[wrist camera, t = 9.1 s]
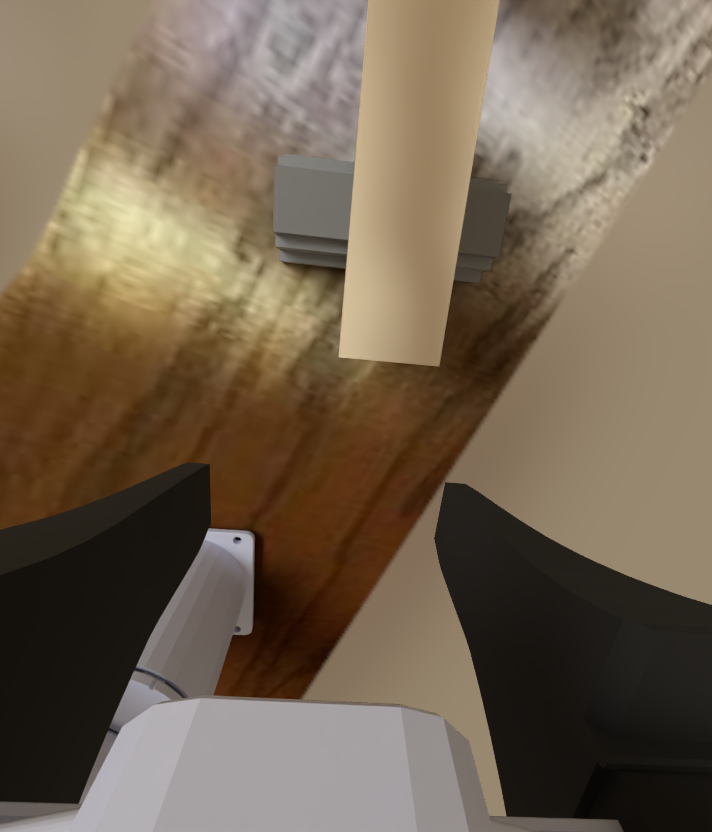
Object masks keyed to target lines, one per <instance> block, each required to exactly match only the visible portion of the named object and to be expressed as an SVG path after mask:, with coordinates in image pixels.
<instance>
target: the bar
mask: <svg viewBox="0 0 712 832" xmlns="http://www.w3.org/2000/svg"><path fill="white" fill-rule="evenodd" d="M499 2H500V0H369V2H368V13H367V25H366V36H365V47H364V59H363V70H362V82H361V94H360V106H359V118H358V130H357V142H356V154H355V166H354V178H353V189H352V201H351V213H350V225H349V237H348V249H347V261H346V273H345V285H344V297H343V308H342V320H341V332H340V346H339V357H342V358H353V359H364V360H375V361H386V362H396V363H407V364H418V365H429V366H439V365H440V359H441V353H442V347H443V341H444V335H445V328H446V322H447V316H448V310H449V304H450V298H451V292H452V286H453V280H454V274H455V268H456V262H457V256H458V250H459V244H460V238H461V232H462V226H463V220H464V213H465V207H466V201H467V195H468V189H469V183H470V177H471V171H472V165H473V159H474V153H475V147H476V141H477V135H478V129H479V123H480V117H481V111H482V104H483V98H484V92H485V86H486V80H487V74H488V68H489V62H490V56H491V50H492V44H493V38H494V32H495V26H496V20H497V14H498V8H499Z"/></svg>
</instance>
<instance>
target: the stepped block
mask: <svg viewBox="0 0 712 832" xmlns="http://www.w3.org/2000/svg"><path fill="white" fill-rule="evenodd" d="M354 166H355V162H347V161H339V160H331V159H324V158H316V157H308V156H300V155H292V154H284V153H283V157H278V165H275V181H274V215H273V232H274V233H275V234H276V242H275V246H276V247H277V248H278V249H280V252H279V261H281V262H285V263H294V264H303V265H313V266H322V267H331V268H341V269H346V261H347V249H348V237H349V225H350V213H351V201H352V189H353V178H354ZM506 188H507V185H501V184H498V180H491V179H483V178H475V177H470V183H469V189H468V195H467V201H466V207H465V213H464V220H463V226H462V232H461V238H460V244H459V250H458V256H457V262H456V268H455V274H454V280H453V281H462V282H471V283H478V282H480V278H481V273H482V272H483V271H488V270H491V267H492V261H493V258H497V257H499V255H500V250H501V245H502V239H503V234H504V229H505V224H506V219H507V214H508V209H509V204H510V199H511V194H508V193H506Z"/></svg>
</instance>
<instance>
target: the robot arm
mask: <svg viewBox="0 0 712 832" xmlns="http://www.w3.org/2000/svg"><path fill="white" fill-rule="evenodd" d="M210 524H211V504H210V465H209V464H202V463H186V464H183V465H180V466H177V467H175V468H173V469H170V470H168V471H166V472H163V473H161V474H159V475H157V476H154V477H152V478H150V479H148V480H146V481H143V482H141V483H139V484H137V485H134V486H132V487H130V488H127V489H125V490H122V491H120V492H117V493H115V494H113V495H110V496H108V497H105V498H103V499H100V500H98V501H95V502H92V503H90V504H87V505H84V506H81V507H79V508H76V509H73V510H70V511H66V512H63V513H60V514H57V515H54V516H51V517H47V518H44V519H40V520H37V521H33V522H29V523H25V524H21V525H17V526H14V527H10V528H6V529H2V530H0V832H712V605H709V604H706V603H703V602H700V601H697V600H693V599H690V598H687V597H683V596H681V595H678V594H675V593H672V592H669V591H667V590H664V589H661V588H658V587H655V586H653V585H650V584H647V583H645V582H642V581H639V580H636V579H634V578H632V577H629V576H626V575H624V574H622V573H620V572H617V571H615V570H612V569H610V568H608V567H606V566H604V565H601V564H599V563H596V562H594V561H592V560H590V559H588V558H586V557H584V556H582V555H580V554H578V553H576V552H574V551H572V550H570V549H568V548H566V547H564V546H563V545H561V544H559V543H557V542H555V541H553V540H551V539H549V538H548V537H546V536H544V535H543V534H541V533H540V532H538V531H536V530H535V529H533V528H531V527H530V526H528V525H526V524H525V523H523V522H522V521H520V520H519V519H517V518H516V517H514V516H513V515H511V514H510V513H508V512H507V511H505V510H504V509H502V508H501V507H499V506H498V505H496V504H495V503H493V502H492V501H491V500H489V499H488V498H486V497H485V496H483V495H482V494H481V493H479V492H478V491H476V490H474V489H473V488H471V487H469V486H468V485H466V484H459V483H446V482H445V486H444V492H443V497H442V502H441V507H440V512H439V518H438V523H437V528H436V533H435V538H434V539H435V544H436V549H437V554H438V559H439V563H440V567H441V570H442V573H443V576H444V579H445V582H446V584H447V587H448V590H449V593H450V596H451V598H452V601H453V604H454V607H455V609H456V612H457V615H458V618H459V620H460V623H461V626H462V629H463V631H464V634H465V637H466V640H467V643H468V646H469V650H470V653H471V657H472V661H473V665H474V669H475V672H476V676H477V680H478V684H479V688H480V692H481V697H482V701H483V705H484V710H485V714H486V718H487V723H488V727H489V731H490V736H491V741H492V745H493V750H494V755H495V760H496V764H497V769H498V774H499V779H500V783H501V789H502V794H503V799H504V805H505V810H506V815H507V817H502V816H489V814H488V810H487V806H486V803H485V799H484V795H483V792H482V788H481V784H480V781H479V777H478V773H477V769H476V766H475V762H474V759H473V755H472V751H471V748H470V744H469V741H468V740H467V739H466V738H465V737H464V736H463V735H462V734H461V733H459V732H458V731H457V730H456V729H455V728H454V727H453V726H452V725H451V724H450V723H449V722H448V721H446V720H445V719H444V718H443V717H441V716H440V715H437V714H436V713H432V712H428V711H424V710H420V709H416V708H412V707H408V706H403V705H400V704H383V703H382V704H381V703H362V702H338V701H318V700H296V699H274V698H252V697H230V696H213V694H214V691H215V688H216V685H217V682H218V679H219V676H220V673H221V670H222V667H223V664H224V660H225V657H226V654H227V651H228V648H229V645H230V642H231V639H232V636H233V635H248V634H250V633H251V632H252V628H253V608H254V560H255V536H254V534H253V533H252V532H250V531H242V530H226V529H210V528H209V527H210ZM235 537H239V538H241V540H236V539H235ZM236 626H237V627H236ZM238 627H239V628H238Z"/></svg>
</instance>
